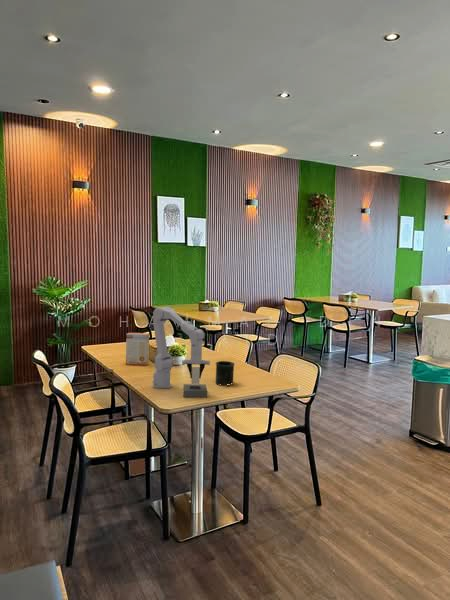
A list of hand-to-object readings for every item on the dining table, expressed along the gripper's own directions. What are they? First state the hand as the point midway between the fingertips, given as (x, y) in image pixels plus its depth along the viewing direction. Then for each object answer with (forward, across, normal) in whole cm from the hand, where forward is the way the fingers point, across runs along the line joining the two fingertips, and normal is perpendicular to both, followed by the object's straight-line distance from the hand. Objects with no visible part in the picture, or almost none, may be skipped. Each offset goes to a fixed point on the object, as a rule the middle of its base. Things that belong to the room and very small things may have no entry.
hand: (195, 378), depth 237 cm
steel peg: (+3, 0, 0) cm, 3 cm away
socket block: (+9, 0, 0) cm, 9 cm away
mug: (+9, +17, +22) cm, 29 cm away
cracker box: (+9, -36, +64) cm, 74 cm away
